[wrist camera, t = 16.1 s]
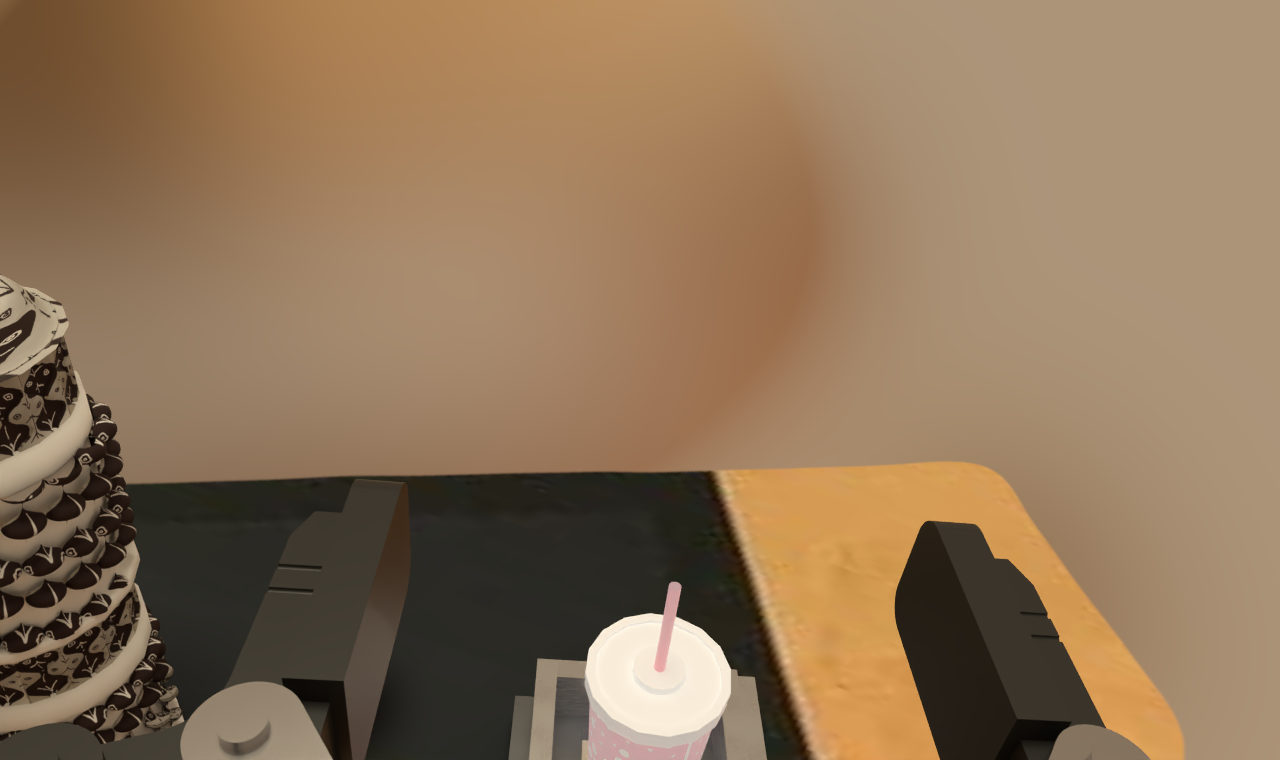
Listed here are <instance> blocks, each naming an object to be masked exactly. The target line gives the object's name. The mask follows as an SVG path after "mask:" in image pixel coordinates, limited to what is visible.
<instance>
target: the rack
mask: <svg viewBox="0 0 1280 760" xmlns="http://www.w3.org/2000/svg"><path fill="white" fill-rule="evenodd" d="M586 665H587V662H586V661H568V660H550V659H538V662H537V674H536V685H535V697H528V696H515V704H514V713H513V723H512V732H511V741H510V750H509V760H588V739H589V709H590V701H589V698H588V695H587V691H586V688H585V671H586ZM701 760H767V757H766V750H765V744H764V737H763V730H762V724H761V717H760V710H759V704H758V697H757V691H756V684H755V677H741V676H738V675H737V670H731V695H730V698H729V700H728V702H727V706H726V708H725V710H724V712H723V714H722V716H721V717H720V719H719V721H718V723H717V725H716V727H715V728H713V729H712V730H711V733H710V736H709V738H708V741H707V744H706V747H705V749H704V752H703V755H702V758H701Z"/></svg>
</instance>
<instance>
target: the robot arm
mask: <svg viewBox="0 0 1280 760" xmlns="http://www.w3.org/2000/svg"><path fill="white" fill-rule="evenodd" d="M409 573H410V530H409V506H408V489H407V484H406V483H404V482H390V481H376V480H362V479H356V480H355V481H354V483H353V484H352V487H351V489H350V492H349V495H348V498H347V500H346V503H345V506H344V509H343V511H342V513H333V512H319V511H315V512H314V513H313V514H312V515H311V516H310V517H309V518H308V519H307V520H306V521H305V522H304V523H303V524H302V525H300V526H299V527H298V528H297V529H296V530H295V531H294V532H293V533H292V534H291V535H290V537H289V540H288V542H287V544H286V547H285V549H284V551H283V554H282V556H281V559H280V561H279V563H278V569H276V570H275V573H274V575H273V578H272V580H271V582H270V585H269V590H268V593H266V594H265V596H264V599H263V601H262V604H261V606H260V608H259V611H258V613H257V615H256V618H255V620H254V623H253V625H252V627H251V630H250V632H249V634H248V637H247V639H246V641H245V644H244V646H243V649H242V651H241V653H240V656H239V658H238V660H237V663H236V665H235V667H234V670H233V672H232V675H231V677H230V679H229V681H228V683H227V685H226V686H225V687H224V689H223V690H222V691H220V692H219V693H217V694H215V695H213V696H212V697H210V698H209V699H208V700H206V701H205V702H204V703H203V704H202V705H201V706H199V707H198V708H197V710H196V711H195V712H194V713H193V714H192V715H191V717H190V719H188V720H186V721H184V722H182V723H180V724H177V725H175V726H172V727H170V728H167V729H163V730H160V731H156V732H152V733H148V734H143V735H139V736H135V737H130V738H126V739H121V740H117V741H113V742H108V743H104V744H100V743H99V741H98V739H97V738H96V737H95V735H94V734H93V733H91V732H90V731H89V730H87V729H85V728H83V727H81V726H78V725H74V724H69V723H50V724H44V725H39V726H35V727H32V728H29V729H25V730H23V731H21V732H18V733H16V734H14V735H12V736H10V737H8V738H6V739H5V740H3V741H1V742H0V760H365V756H366V752H367V748H368V744H369V740H370V736H371V732H372V728H373V724H374V720H375V716H376V712H377V708H378V704H379V700H380V696H381V692H382V689H383V685H384V681H385V677H386V673H387V669H388V665H389V661H390V657H391V653H392V649H393V645H394V641H395V637H396V633H397V629H398V625H399V621H400V617H401V613H402V609H403V605H404V602H405V597H406V593H407V588H408V581H409ZM1047 614H1048V613H1047V611H1046V609H1045V607H1044V605H1043V603H1042V601H1041V599H1040V597H1039V595H1038V593H1037V591H1036V589H1035V587H1034V585H1033V584H1032V583H1031V582H1030V581H1029V580H1028V579H1027V578H1026V577H1025V576H1024V575H1023V574H1022V573H1021V572H1020V571H1019V570H1018V569H1017V568H1016V567H1015V566H1014V565H1013V564H1012V563H1011V562H1010V561H1009V560H1008V559H995V558H994V557H993V554H992V552H991V550H990V548H989V546H988V544H987V542H986V540H985V538H984V535H983V533H982V532H981V530H980V528H979V527H978V526H976V525H975V524H967V523H953V522H938V521H926V522H925V523H924V524H923V525H922V526H921V528H920V530H919V533H918V535H917V538H916V541H915V543H914V546H913V548H912V551H911V553H910V556H909V559H908V561H907V564H906V566H905V569H904V571H903V574H902V577H901V579H900V582H899V584H898V587H897V591H896V596H895V618H896V624H897V628H898V631H899V635H900V638H901V641H902V644H903V647H904V650H905V653H906V656H907V659H908V662H909V665H910V668H911V671H912V675H913V678H914V681H915V684H916V687H917V690H918V693H919V696H920V699H921V702H922V705H923V708H924V711H925V715H926V718H927V721H928V724H929V727H930V730H931V733H932V736H933V739H934V742H935V745H936V748H937V751H938V755H939V758H940V760H1150V758H1149V757H1148V756H1147V755H1146V754H1145V753H1144V752H1143V751H1142V750H1141V749H1140V748H1139V747H1137V746H1136V745H1135V744H1134V743H1132V742H1131V741H1130V740H1128V739H1126V738H1125V737H1123V736H1122V735H1120V734H1118V733H1116V732H1114V731H1112V730H1109V729H1106V727H1105V725H1104V723H1103V721H1102V719H1101V717H1100V715H1099V713H1098V711H1097V709H1096V708H1095V706H1094V704H1093V702H1092V700H1091V698H1090V696H1089V694H1088V692H1087V690H1086V688H1085V686H1084V684H1083V682H1082V680H1081V678H1080V676H1079V674H1078V672H1077V670H1076V668H1075V666H1074V664H1073V662H1072V660H1071V658H1070V656H1069V654H1068V652H1067V650H1066V648H1065V646H1064V644H1063V642H1059V635H1058V633H1057V631H1056V629H1055V627H1054V625H1053V623H1052V621H1051V619H1048V618H1047Z"/></svg>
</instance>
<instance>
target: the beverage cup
mask: <svg viewBox="0 0 1280 760" xmlns="http://www.w3.org/2000/svg"><path fill="white" fill-rule="evenodd" d="M680 591H681V585H680V584H679V583H677V582H672V583H670V584H669V589H668V594H667V600H666V605H665V610H664V615H658V614H651V613H650V614H644V615H638V616H632V617H627V618H623V619H622V620H620V621H618V622H616V623H615V624H613V625H611V626H609V627H608V628H606V629H604V630H603V631H602V632H601V634H600V635H599V636H598V638H597V639H596V640H595V642H594V643H593V645H592V646H591V647H590V649H589V653H588V659H587V665H586V671H585V688H586V691H587V695H588V698H589V701H590V709H589V739H588V760H701V758H702V755H703V752H704V749H705V747H706V744H707V741H708V738H709V736H710V733H711V730H712V729H713V728H715V727H716V725H717V723H718V721H719V719H720V717H721V716H722V714H723V712H724V710H725V708H726V706H727V702H728V700H729V698H730V695H731V669H730V667H729V665H728V662H727V660H726V658H725V656H724V654H723V652H722V650H721V647H720V646H719V645H718V644H717V643H716V642H715V641H714V640H712V639H711V638H710V637H709V636H708V635H707V634H706V633H705V632H704V631H703V630H702V629H701V628H698V627H696V626H694V625H692V624H690V623H688V622H686V621H684V620H682V619H680V618H677V617H676V612H677V607H678V601H679V596H680Z"/></svg>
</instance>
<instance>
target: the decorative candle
mask: <svg viewBox="0 0 1280 760" xmlns="http://www.w3.org/2000/svg"><path fill="white" fill-rule="evenodd" d="M68 325H69V323H68V320H67V318H66V315H65V312H64V310H63V307H62V304H61V303H59V302H57V301H56V300H54V299H52V298H50V297H49V296H47V295H45V294H43V293H42V292H40V291H38V290H36V289H33V288H27V287H22V286H20V285H19V284H17V283H15V282H13V281H12V280H10V279H8V278H7V277H5V276H3V275H1V274H0V742H1V741H3V740H5V739H6V738H8V737H10V736H12V735H14V734H16V733H18V732H21V731H23V730H25V729H29V728H32V727H35V726H39V725H44V724H50V723H69V724H74V725H78V726H81V727H83V728H85V729H87V730H89V731H90V732H91V733H93V734H94V735H95V737H96V738H97V739H98V741H99V743H100V744H104V743H108V742H113V741H117V740H121V739H126V738H130V737H135V736H139V735H143V734H148V733H152V732H156V731H160V730H163V729H167V728H170V727H172V726H175V725H177V724H180V723H182V722H184V719H183V716H182V709H181V708H180V707H179V704H178V701H177V699H176V698H175V697H176V696H177V695H178V688H177V687H176V686H168V687H165V686H163V683H166V682H167V681H168V680H169V678H170V677H171V676H172V675H173V668H172V667H171V666H170V665H169V664H168V662H167V661H166V660H165V659H164V654H165V651H166V646H165V644H164V642H163V641H162V639H161V638H160V637H158V636H157V634H158V633H159V630H160V623H159V621H158V619H157V618H156V617H154V616H152V615H151V611H150V609H149V607H148V606H147V605H145V604H144V601H143V598H142V595H141V592H140V589H139V587H138V585H137V584H135V583H134V579H135V576H136V572H137V569H138V565H139V562H140V558H139V554H138V551H137V549H136V546H135V543H134V538H135V536H136V528H135V526H134V525H133V524H131V523H132V522H133V520H134V513H133V511H132V510H131V509H130V508H129V505H130V502H131V498H130V496H129V494H128V493H126V492H125V491H124V490H125V488H126V483H125V480H124V478H123V477H122V476H121V475H119V472H120V471H121V470H122V468H123V460H122V458H121V457H120V456H119V453H120V450H121V449H120V444H119V443H118V441H117V440H115V439H113V437H114V436H115V434H116V432H117V426H116V424H115V423H114V422H113V421H111V420H110V418H111V411H110V408H109V407H108V406H107V405H106V404H104V403H100V402H94V400H93V398H92V397H91V396H89V395H88V394H86V393H85V391H84V388H83V385H82V382H81V380H80V377H79V374H78V373H77V372H76V371H74V370H73V367H72V363H71V360H70V357H69V353H68V350H67V346H66V343H65V339H64V333H65V331H66V329H67V327H68ZM93 421H94V422H93ZM93 423H94V426H92V425H93ZM99 460H101V463H96V462H98V461H99ZM108 492H109V494H107V493H108ZM160 684H161V685H162V687H161V686H160Z"/></svg>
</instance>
